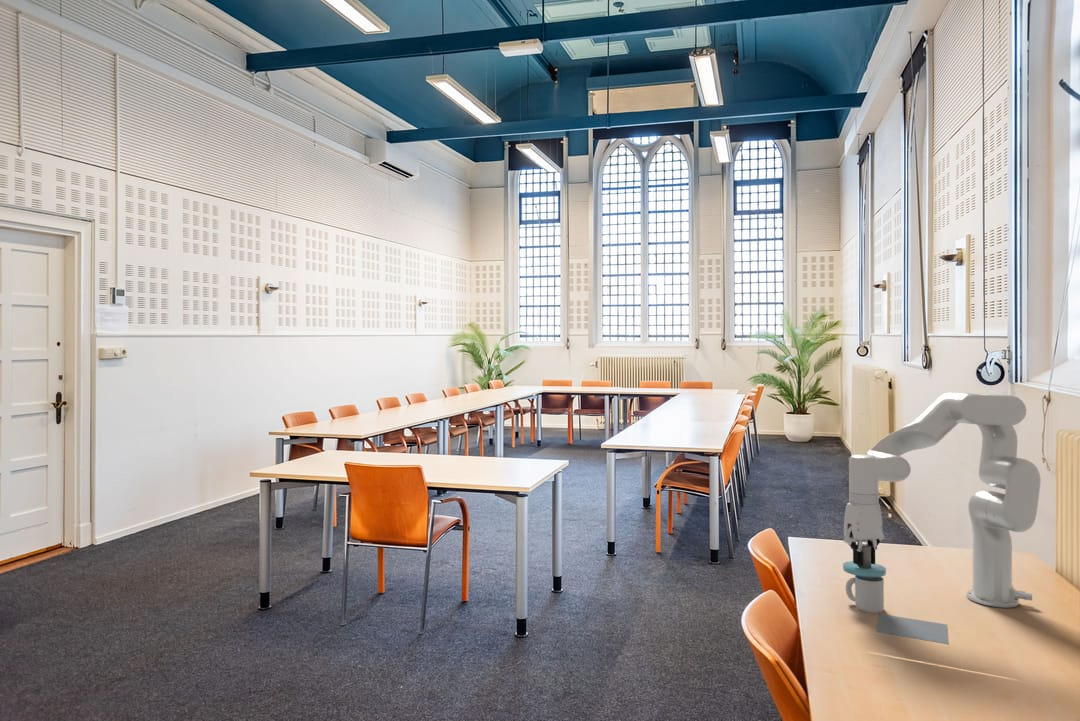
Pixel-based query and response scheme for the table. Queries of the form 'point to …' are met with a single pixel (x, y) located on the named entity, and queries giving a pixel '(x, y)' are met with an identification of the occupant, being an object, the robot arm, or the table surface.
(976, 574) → the robot arm
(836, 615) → the table surface
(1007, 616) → the table surface
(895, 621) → the mat
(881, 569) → the lid
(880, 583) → the cup
